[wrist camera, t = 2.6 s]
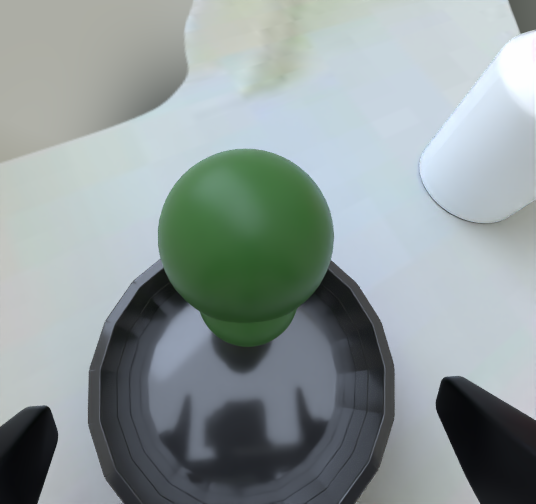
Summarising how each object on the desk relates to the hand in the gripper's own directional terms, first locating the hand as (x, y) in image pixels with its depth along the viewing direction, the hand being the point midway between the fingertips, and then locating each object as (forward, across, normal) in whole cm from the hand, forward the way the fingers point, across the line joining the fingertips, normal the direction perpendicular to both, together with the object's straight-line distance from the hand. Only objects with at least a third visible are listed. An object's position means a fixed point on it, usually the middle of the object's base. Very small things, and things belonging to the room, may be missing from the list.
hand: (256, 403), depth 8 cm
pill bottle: (+18, -17, -2) cm, 25 cm away
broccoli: (+11, 0, +4) cm, 12 cm away
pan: (+9, 0, +7) cm, 12 cm away
